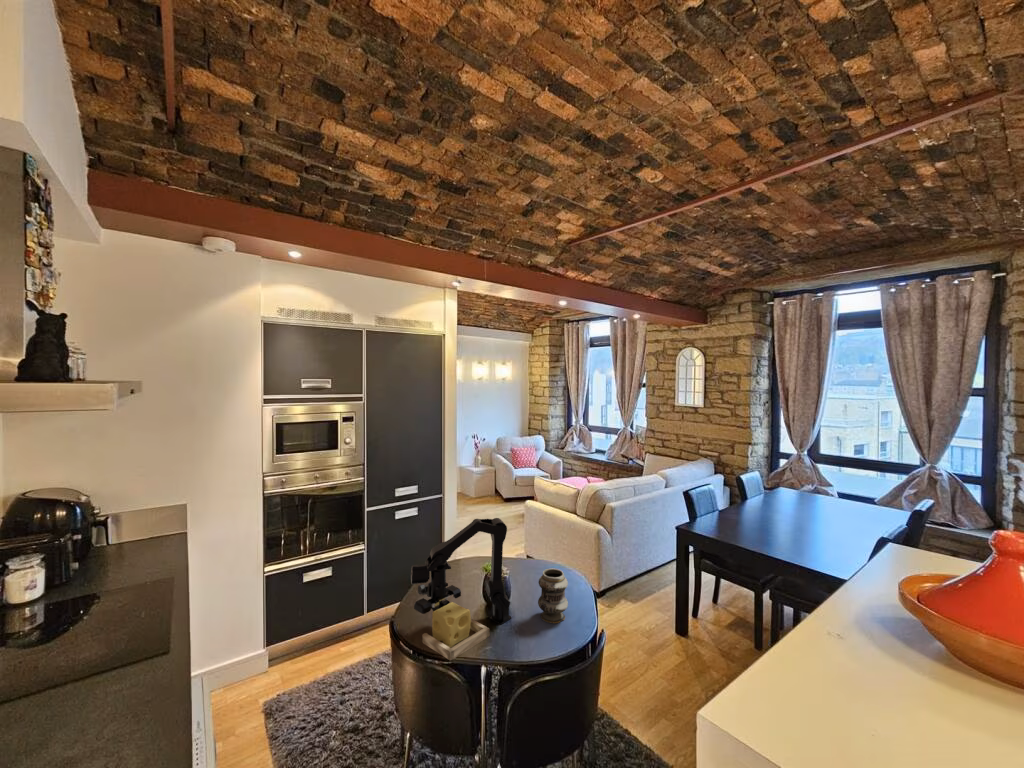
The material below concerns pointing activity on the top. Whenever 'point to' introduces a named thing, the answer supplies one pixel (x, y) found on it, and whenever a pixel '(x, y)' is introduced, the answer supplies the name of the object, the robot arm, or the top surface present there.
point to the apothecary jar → (553, 595)
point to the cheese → (451, 624)
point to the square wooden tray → (462, 646)
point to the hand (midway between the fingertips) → (438, 620)
